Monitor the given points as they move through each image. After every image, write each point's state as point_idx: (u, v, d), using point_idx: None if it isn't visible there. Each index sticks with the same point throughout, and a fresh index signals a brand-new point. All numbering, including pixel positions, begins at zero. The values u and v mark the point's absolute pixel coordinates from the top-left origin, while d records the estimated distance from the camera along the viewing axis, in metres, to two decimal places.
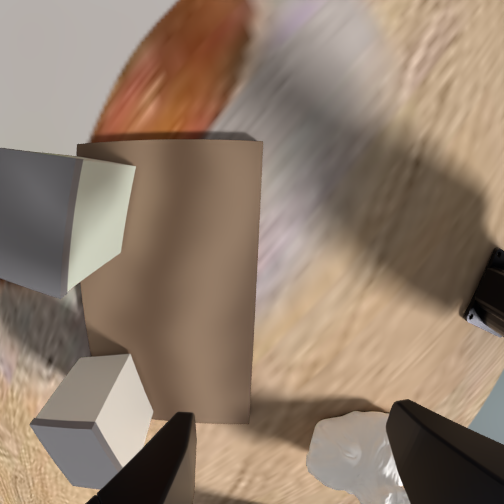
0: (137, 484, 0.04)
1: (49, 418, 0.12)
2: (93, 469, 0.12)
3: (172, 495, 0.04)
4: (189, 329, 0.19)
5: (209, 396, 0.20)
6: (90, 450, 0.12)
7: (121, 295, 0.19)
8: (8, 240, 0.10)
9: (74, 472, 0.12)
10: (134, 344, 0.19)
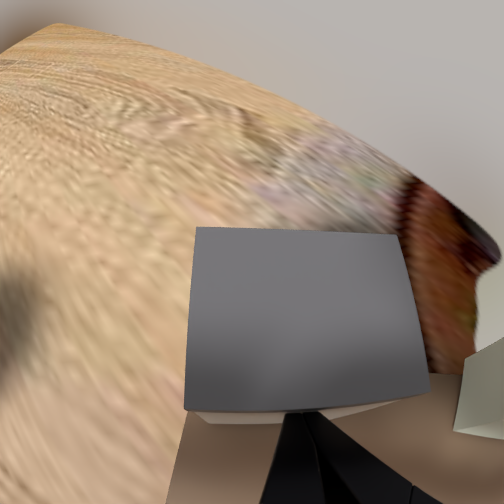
0: (293, 489, 0.04)
1: None
2: (288, 335, 0.06)
3: None
4: None
5: None
6: (364, 362, 0.06)
7: (405, 427, 0.12)
8: None
9: (260, 266, 0.07)
10: None
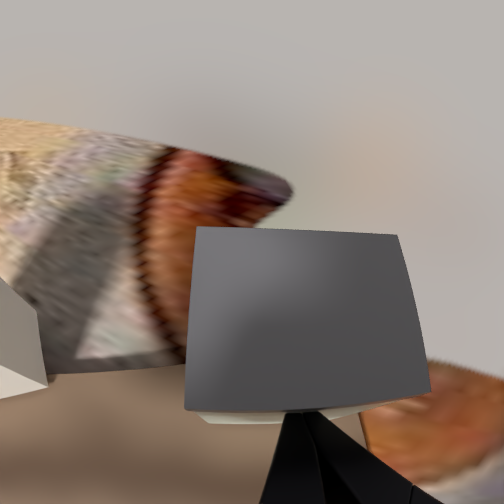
0: (293, 489, 0.04)
1: None
2: None
3: None
4: None
5: None
6: None
7: (143, 431, 0.11)
8: (270, 281, 0.07)
9: None
10: (75, 444, 0.11)
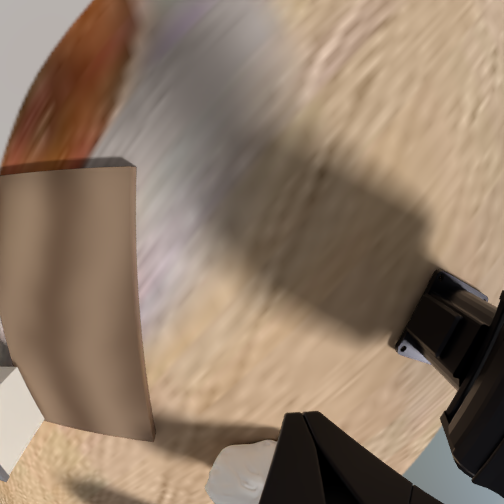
0: (293, 489, 0.04)
1: None
2: None
3: None
4: (83, 349, 0.18)
5: (111, 412, 0.19)
6: None
7: (27, 314, 0.17)
8: None
9: None
10: (42, 358, 0.18)
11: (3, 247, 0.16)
